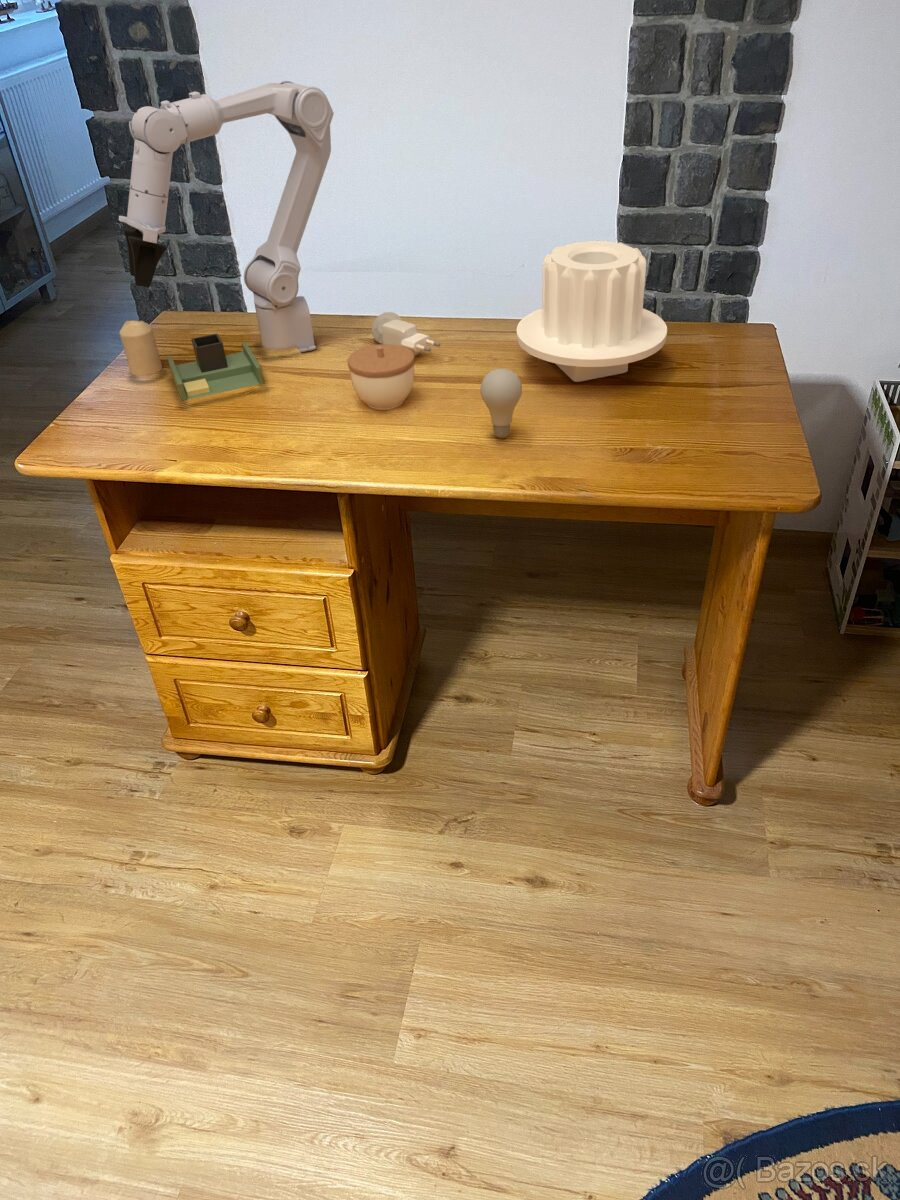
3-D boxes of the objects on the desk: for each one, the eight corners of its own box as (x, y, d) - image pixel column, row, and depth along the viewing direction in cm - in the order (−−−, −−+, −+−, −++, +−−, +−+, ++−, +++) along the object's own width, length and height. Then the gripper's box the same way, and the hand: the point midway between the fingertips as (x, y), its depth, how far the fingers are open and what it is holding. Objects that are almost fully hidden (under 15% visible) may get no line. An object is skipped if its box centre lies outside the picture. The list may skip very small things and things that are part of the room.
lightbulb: (509, 451, 136) (509, 382, 129) (474, 441, 138) (472, 374, 131) (529, 433, 139) (529, 366, 133) (494, 424, 142) (493, 358, 135)
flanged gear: (621, 328, 169) (629, 222, 157) (690, 382, 150) (705, 266, 138) (496, 351, 164) (494, 244, 152) (551, 410, 145) (553, 293, 133)
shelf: (250, 364, 165) (246, 341, 162) (265, 390, 156) (261, 367, 153) (172, 380, 161) (167, 357, 159) (183, 407, 152) (177, 384, 150)
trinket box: (428, 392, 152) (424, 338, 146) (399, 421, 145) (393, 365, 139) (372, 383, 156) (366, 330, 150) (341, 410, 149) (333, 356, 143)
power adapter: (445, 360, 162) (443, 329, 158) (427, 370, 159) (424, 338, 155) (398, 346, 168) (396, 315, 164) (380, 355, 165) (377, 324, 161)
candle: (168, 369, 165) (154, 315, 159) (157, 382, 161) (142, 327, 154) (139, 369, 166) (124, 315, 159) (127, 382, 161) (112, 328, 155)
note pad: (206, 383, 156) (205, 378, 156) (210, 392, 153) (209, 387, 153) (184, 388, 155) (182, 382, 155) (187, 397, 152) (186, 391, 152)
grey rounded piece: (409, 316, 172) (400, 307, 167) (410, 348, 171) (401, 341, 167) (378, 320, 173) (369, 311, 168) (379, 352, 173) (370, 344, 168)
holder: (222, 357, 161) (217, 333, 159) (228, 367, 158) (222, 342, 155) (197, 362, 160) (191, 338, 157) (201, 372, 157) (195, 347, 154)
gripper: (117, 180, 146) (109, 267, 152) (126, 192, 135) (117, 285, 140) (163, 191, 149) (153, 275, 155) (175, 203, 138) (165, 294, 144)
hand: (139, 281), depth 148 cm, fingers open, 7 cm apart
